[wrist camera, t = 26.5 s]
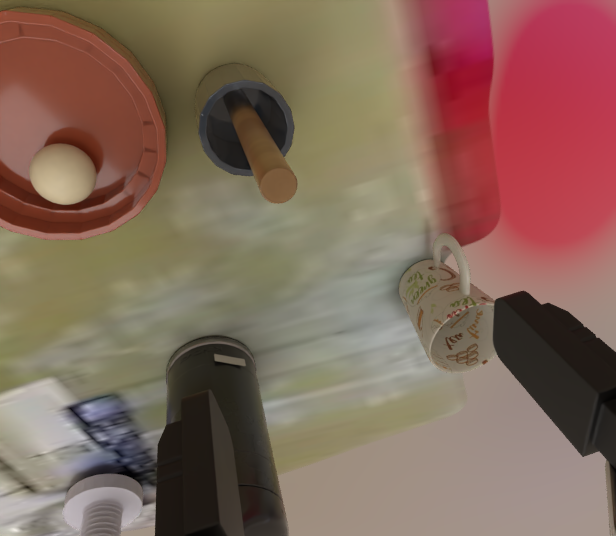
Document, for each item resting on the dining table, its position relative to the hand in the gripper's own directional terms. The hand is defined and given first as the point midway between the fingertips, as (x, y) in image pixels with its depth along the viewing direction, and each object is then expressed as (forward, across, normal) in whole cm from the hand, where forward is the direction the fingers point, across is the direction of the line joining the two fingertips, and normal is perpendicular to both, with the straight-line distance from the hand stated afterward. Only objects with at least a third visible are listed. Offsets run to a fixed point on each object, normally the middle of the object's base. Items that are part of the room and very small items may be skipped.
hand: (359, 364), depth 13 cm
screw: (+30, +27, +39) cm, 56 cm away
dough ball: (+28, +12, 0) cm, 30 cm away
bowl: (+30, +13, -2) cm, 33 cm away
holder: (+30, 0, 0) cm, 30 cm away
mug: (+30, -15, +21) cm, 40 cm away
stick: (+30, 0, -1) cm, 30 cm away
